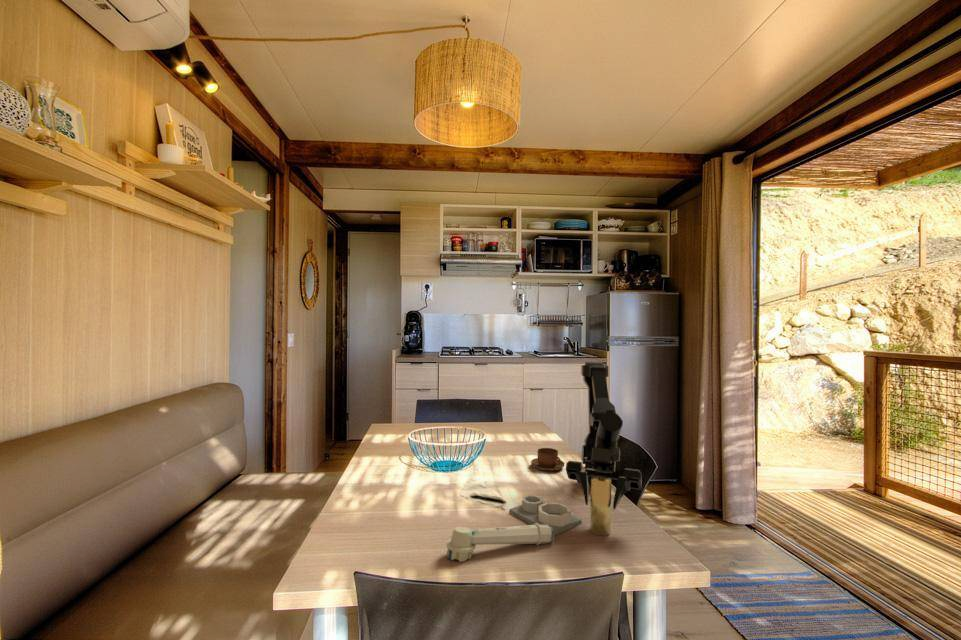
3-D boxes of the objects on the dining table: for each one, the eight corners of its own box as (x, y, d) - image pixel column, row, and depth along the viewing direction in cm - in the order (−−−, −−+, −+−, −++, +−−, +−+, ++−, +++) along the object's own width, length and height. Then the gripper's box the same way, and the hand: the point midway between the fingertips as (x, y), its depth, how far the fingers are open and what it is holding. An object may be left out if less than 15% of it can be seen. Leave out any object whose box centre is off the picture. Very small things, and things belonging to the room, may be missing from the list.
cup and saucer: (569, 466, 157) (569, 449, 157) (556, 476, 147) (556, 458, 147) (539, 460, 163) (539, 444, 163) (525, 469, 153) (525, 452, 153)
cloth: (452, 481, 142) (452, 474, 142) (492, 478, 145) (492, 472, 145) (467, 516, 116) (467, 507, 116) (516, 511, 120) (516, 503, 120)
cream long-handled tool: (556, 529, 100) (453, 530, 92) (552, 559, 100) (448, 562, 91) (545, 519, 105) (447, 519, 97) (542, 547, 105) (442, 550, 96)
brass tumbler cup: (598, 524, 111) (598, 474, 111) (615, 531, 107) (615, 479, 107) (586, 529, 108) (586, 478, 108) (602, 537, 104) (603, 484, 104)
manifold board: (537, 502, 124) (537, 490, 124) (581, 523, 112) (581, 509, 112) (509, 512, 117) (509, 499, 117) (553, 535, 105) (553, 521, 105)
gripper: (567, 430, 115) (557, 485, 105) (641, 438, 108) (639, 498, 97) (572, 451, 122) (564, 505, 112) (642, 460, 115) (640, 518, 105)
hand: (600, 506), depth 106 cm, fingers open, 6 cm apart
